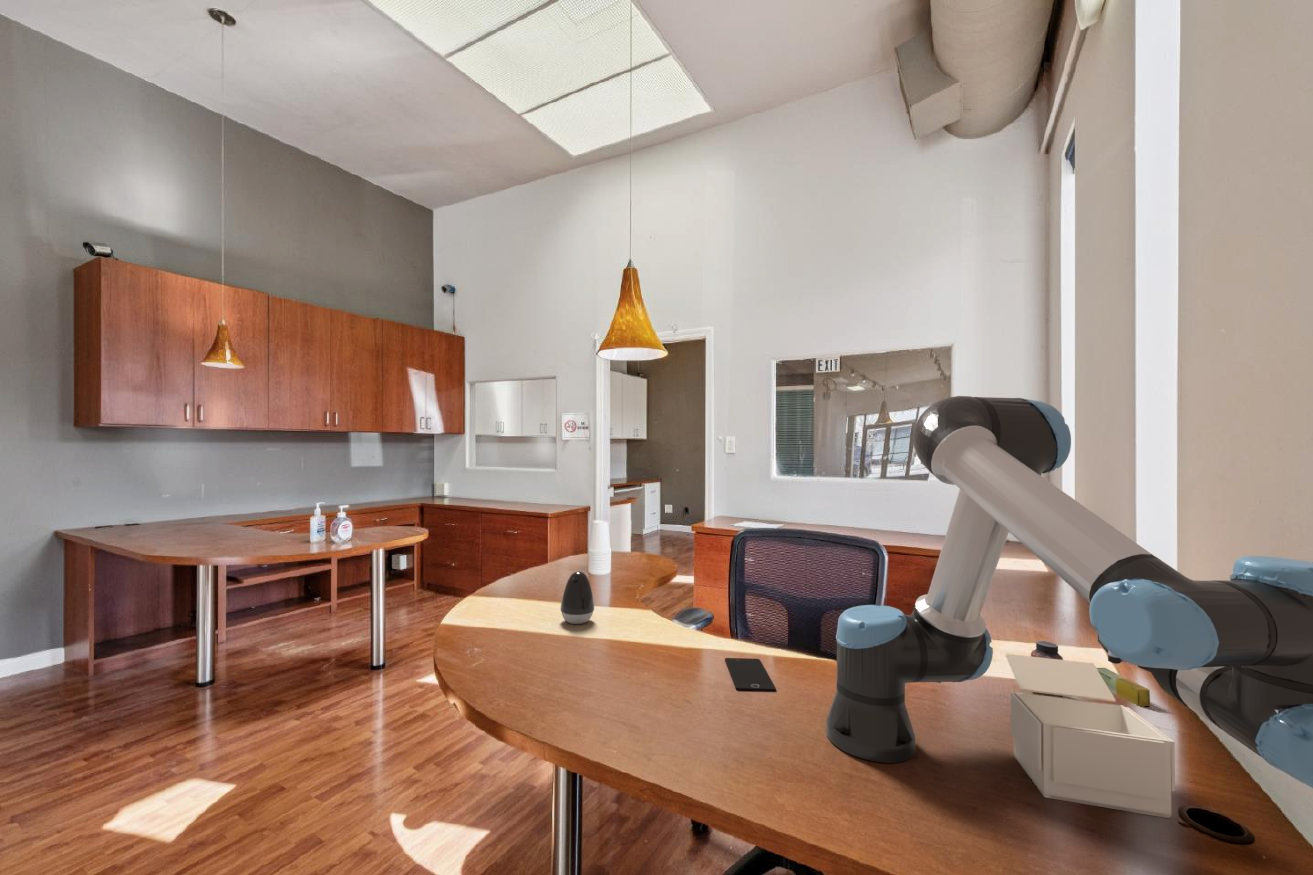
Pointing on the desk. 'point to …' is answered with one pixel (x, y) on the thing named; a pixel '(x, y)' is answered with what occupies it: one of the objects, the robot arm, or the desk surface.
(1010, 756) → the desk surface
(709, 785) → the desk surface
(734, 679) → the cell phone
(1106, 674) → the medication box
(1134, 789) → the carton
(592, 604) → the black egg shaped device
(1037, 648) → the supplement bottle
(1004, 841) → the desk surface
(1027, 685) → the far flap
